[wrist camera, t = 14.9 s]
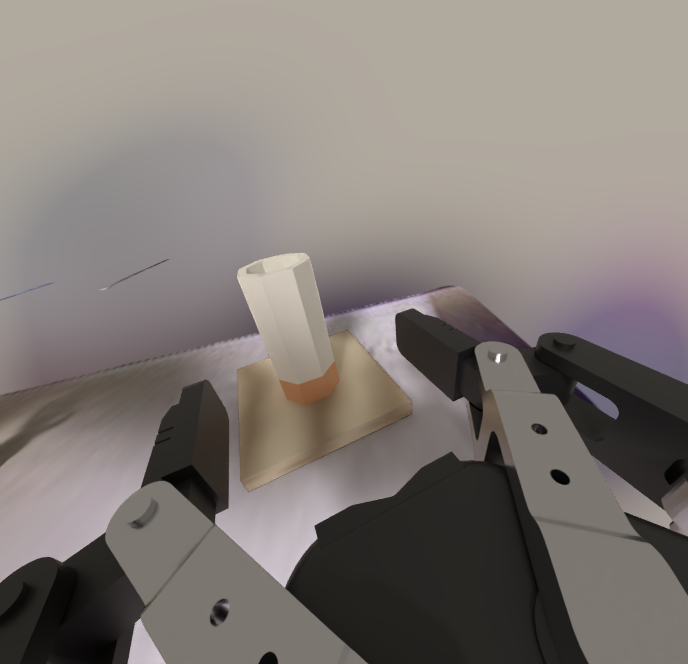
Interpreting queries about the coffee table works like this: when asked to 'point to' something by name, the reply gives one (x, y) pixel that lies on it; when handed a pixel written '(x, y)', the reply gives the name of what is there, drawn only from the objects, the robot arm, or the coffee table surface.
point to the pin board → (312, 413)
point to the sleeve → (291, 324)
